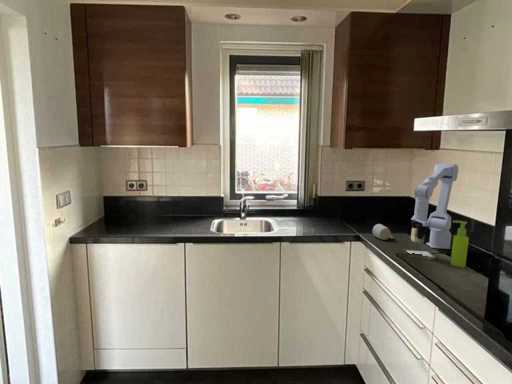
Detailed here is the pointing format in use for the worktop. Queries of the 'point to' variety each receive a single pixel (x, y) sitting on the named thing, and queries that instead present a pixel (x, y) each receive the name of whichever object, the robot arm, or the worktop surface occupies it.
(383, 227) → the ceramic mug
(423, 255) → the blue-grey mat
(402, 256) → the worktop surface
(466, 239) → the soap dispenser
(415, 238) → the maple block
